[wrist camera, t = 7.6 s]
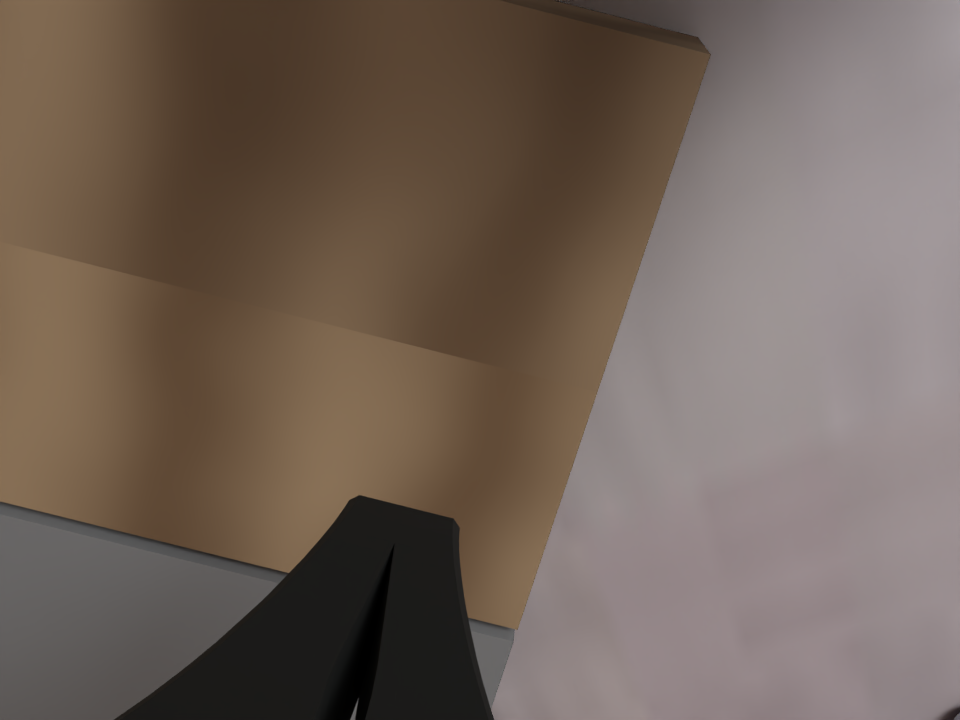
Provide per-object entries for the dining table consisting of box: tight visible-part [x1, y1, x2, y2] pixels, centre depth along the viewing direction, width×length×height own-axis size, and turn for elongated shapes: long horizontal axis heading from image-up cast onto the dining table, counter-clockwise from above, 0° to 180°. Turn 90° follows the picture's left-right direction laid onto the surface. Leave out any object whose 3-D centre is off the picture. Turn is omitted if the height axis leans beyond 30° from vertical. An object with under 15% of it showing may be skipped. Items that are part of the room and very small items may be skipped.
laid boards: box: [0, 0, 711, 630], centre depth 19 cm, size 16×14×2 cm
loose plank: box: [0, 501, 515, 720], centre depth 25 cm, size 16×12×2 cm
